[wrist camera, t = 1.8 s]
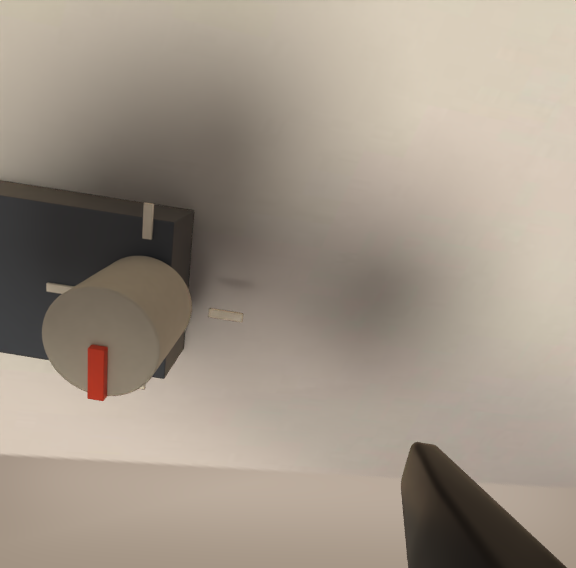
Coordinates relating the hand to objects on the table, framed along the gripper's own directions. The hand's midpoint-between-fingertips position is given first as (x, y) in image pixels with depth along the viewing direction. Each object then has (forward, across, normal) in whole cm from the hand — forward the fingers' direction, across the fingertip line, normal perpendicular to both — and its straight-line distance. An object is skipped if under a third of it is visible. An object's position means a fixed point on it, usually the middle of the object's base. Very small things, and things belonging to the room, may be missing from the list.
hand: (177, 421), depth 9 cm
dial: (+10, +4, +2) cm, 11 cm away
